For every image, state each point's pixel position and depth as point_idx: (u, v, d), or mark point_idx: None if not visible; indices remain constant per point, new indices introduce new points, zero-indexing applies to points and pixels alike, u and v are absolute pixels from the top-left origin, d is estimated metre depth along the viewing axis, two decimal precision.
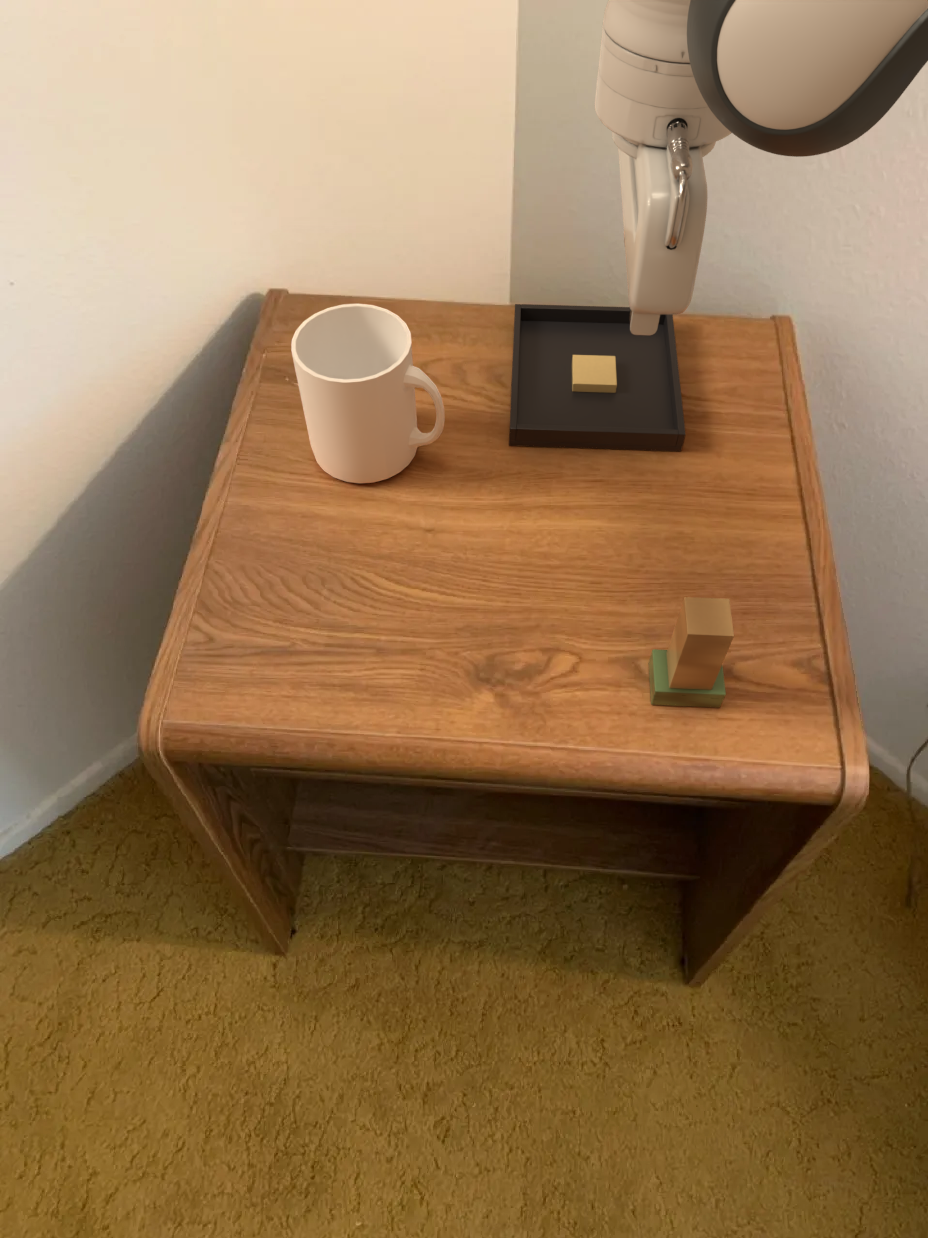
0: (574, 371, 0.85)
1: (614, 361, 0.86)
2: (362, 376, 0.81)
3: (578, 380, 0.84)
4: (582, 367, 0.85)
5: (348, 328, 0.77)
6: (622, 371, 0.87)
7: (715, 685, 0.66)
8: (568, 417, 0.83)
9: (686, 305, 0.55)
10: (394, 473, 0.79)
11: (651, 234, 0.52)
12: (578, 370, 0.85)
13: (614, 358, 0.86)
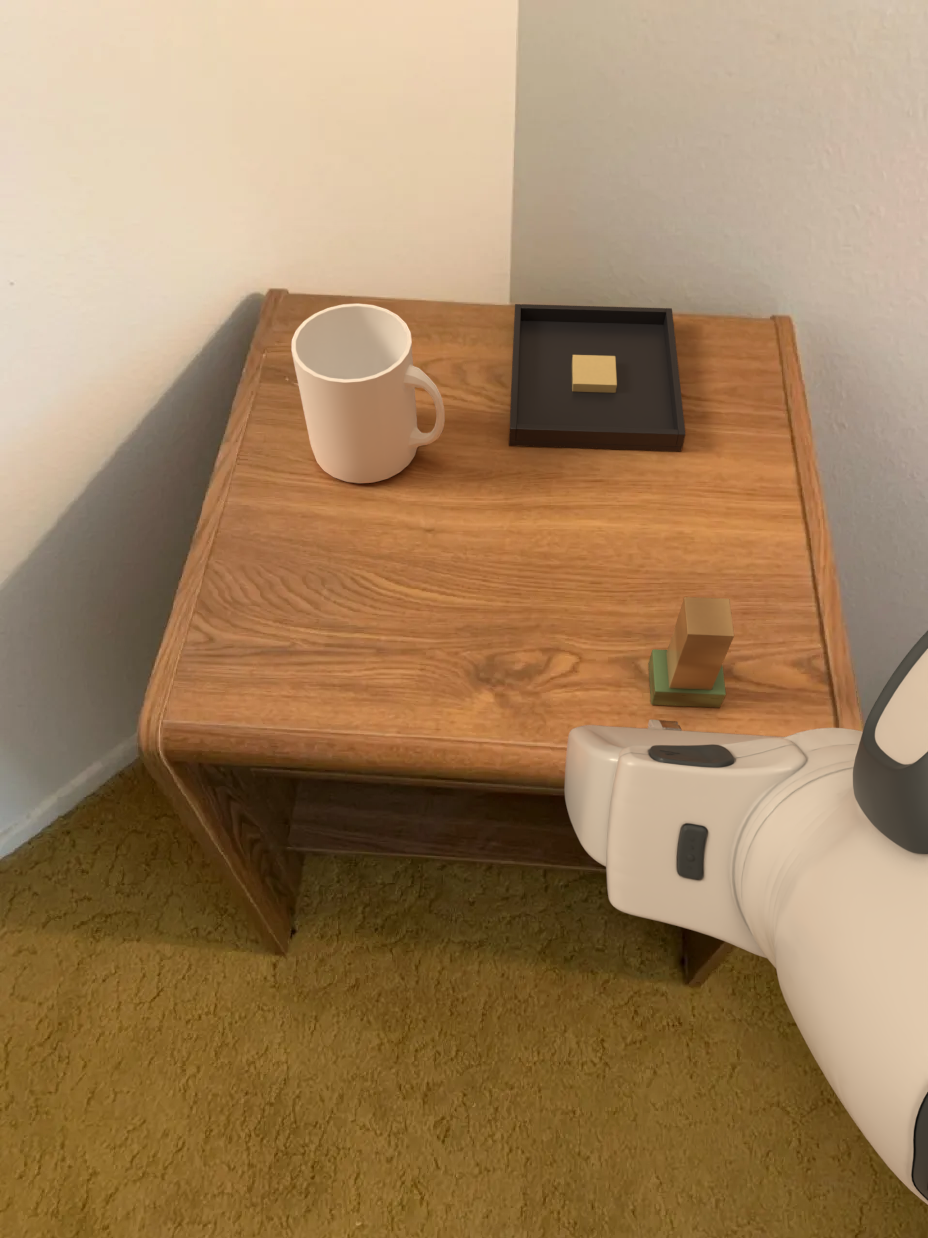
0: (574, 371, 0.85)
1: (614, 361, 0.86)
2: (362, 376, 0.81)
3: (578, 380, 0.84)
4: (582, 367, 0.85)
5: (348, 328, 0.77)
6: (622, 371, 0.87)
7: (715, 685, 0.66)
8: (568, 417, 0.83)
9: None
10: (394, 473, 0.79)
11: None
12: (578, 370, 0.85)
13: (614, 358, 0.86)
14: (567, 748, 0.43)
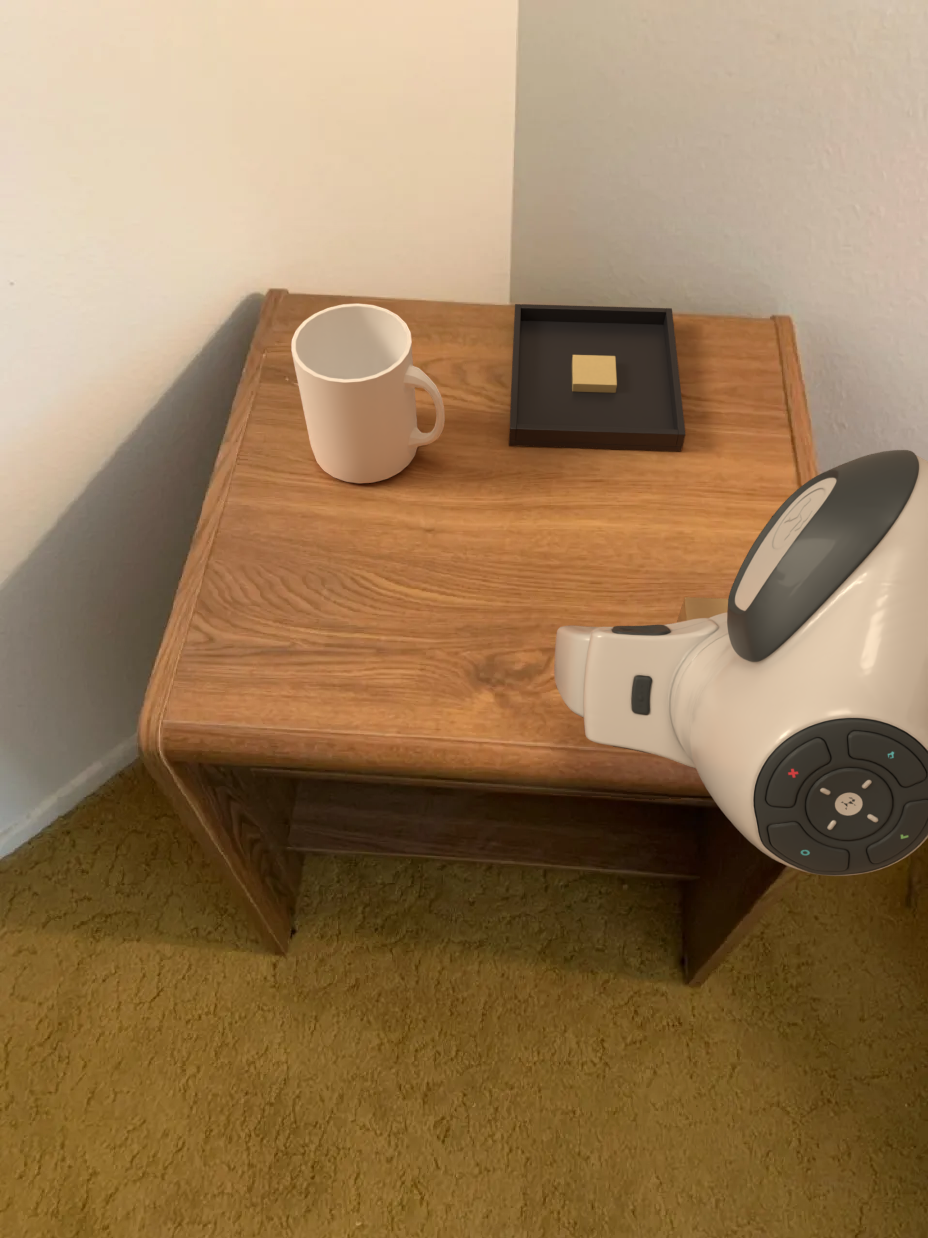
0: (574, 371, 0.85)
1: (614, 361, 0.86)
2: (362, 376, 0.81)
3: (578, 380, 0.84)
4: (582, 367, 0.85)
5: (348, 328, 0.77)
6: (622, 371, 0.87)
7: None
8: (568, 417, 0.83)
9: None
10: (394, 473, 0.79)
11: None
12: (578, 370, 0.85)
13: (614, 358, 0.86)
14: (556, 642, 0.59)
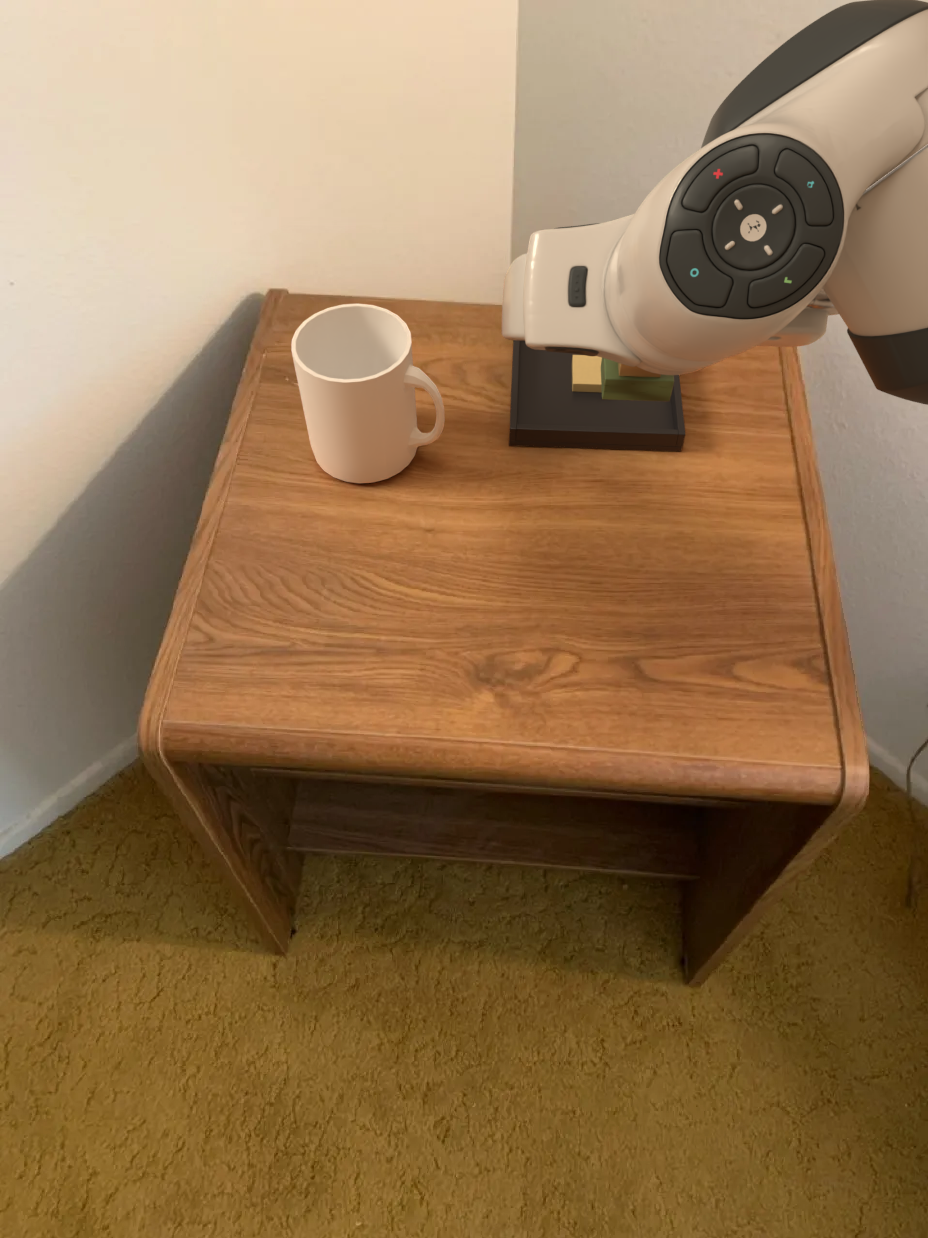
0: (574, 371, 0.85)
1: None
2: (362, 376, 0.81)
3: (578, 380, 0.84)
4: (582, 367, 0.85)
5: (348, 328, 0.77)
6: None
7: None
8: (568, 417, 0.83)
9: None
10: (394, 473, 0.79)
11: None
12: (578, 370, 0.85)
13: None
14: None
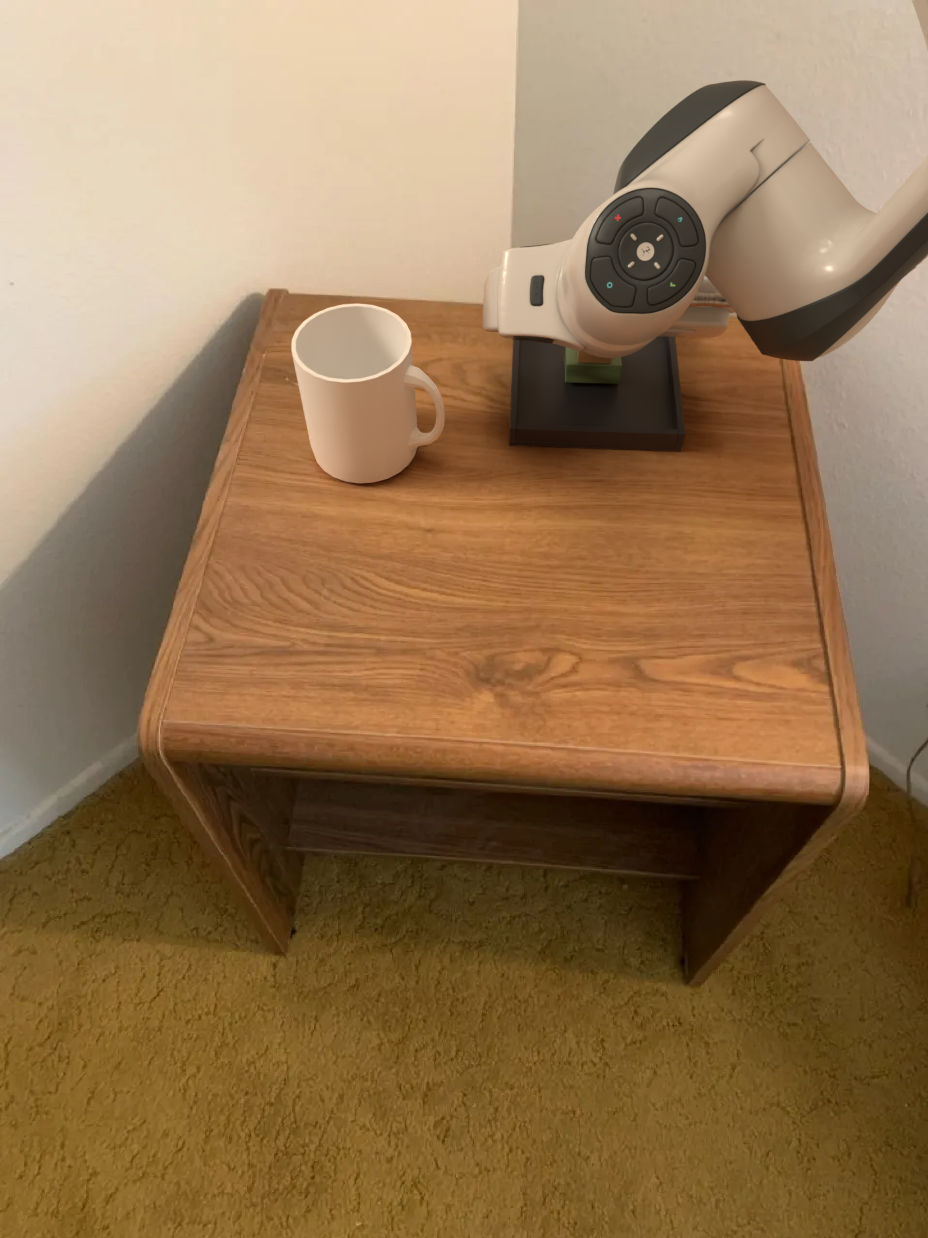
0: None
1: None
2: (362, 376, 0.81)
3: None
4: None
5: (348, 328, 0.77)
6: (622, 371, 0.87)
7: (614, 360, 0.84)
8: (568, 417, 0.83)
9: None
10: (394, 473, 0.79)
11: (728, 322, 0.73)
12: None
13: None
14: None
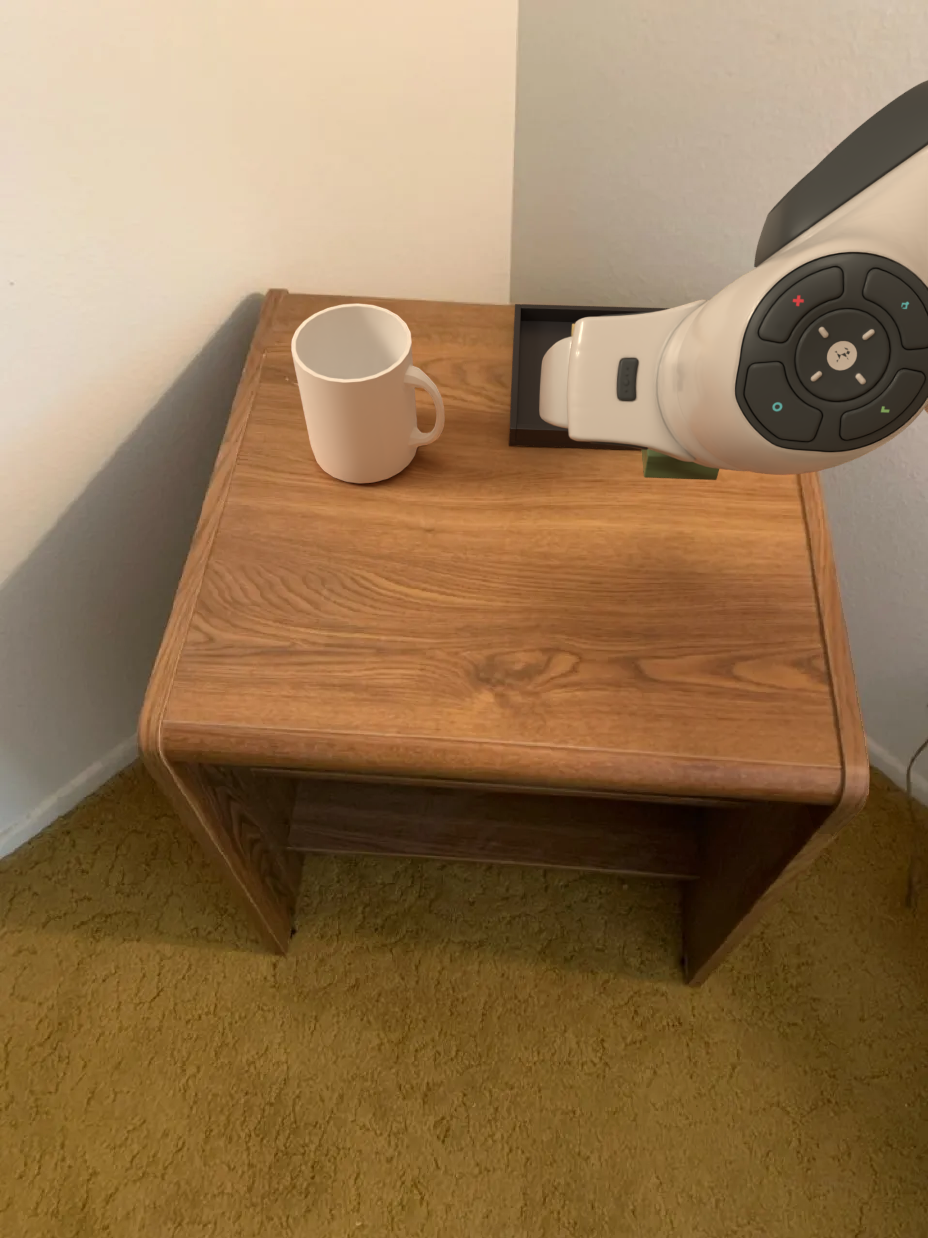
0: None
1: None
2: (362, 376, 0.81)
3: None
4: None
5: (348, 328, 0.77)
6: None
7: None
8: None
9: None
10: (394, 473, 0.79)
11: None
12: None
13: None
14: None
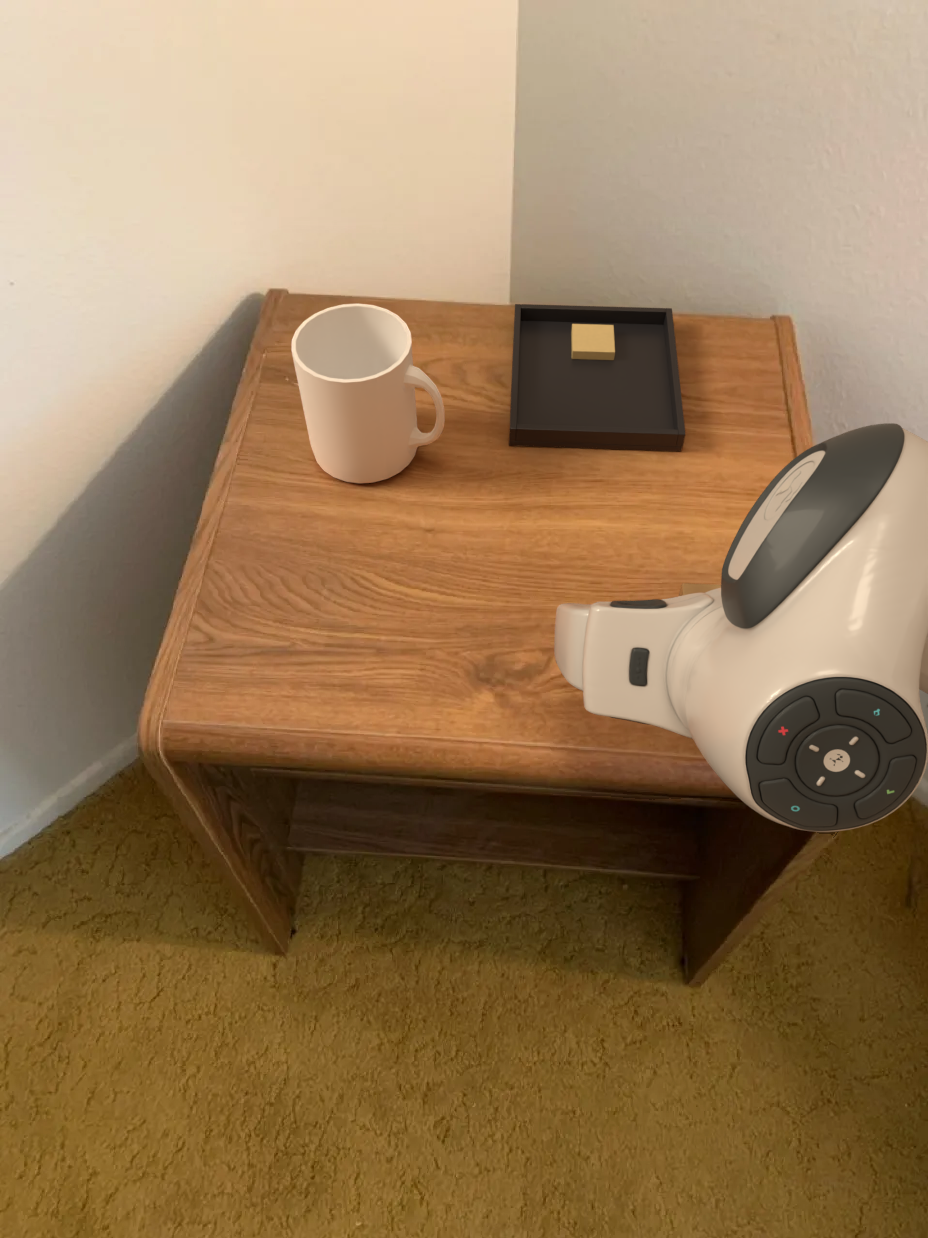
0: (573, 339, 0.88)
1: (612, 330, 0.88)
2: (362, 376, 0.81)
3: (578, 347, 0.87)
4: (581, 335, 0.88)
5: (348, 328, 0.77)
6: (622, 371, 0.87)
7: None
8: (568, 417, 0.83)
9: None
10: (394, 473, 0.79)
11: None
12: (577, 338, 0.88)
13: (612, 327, 0.89)
14: None
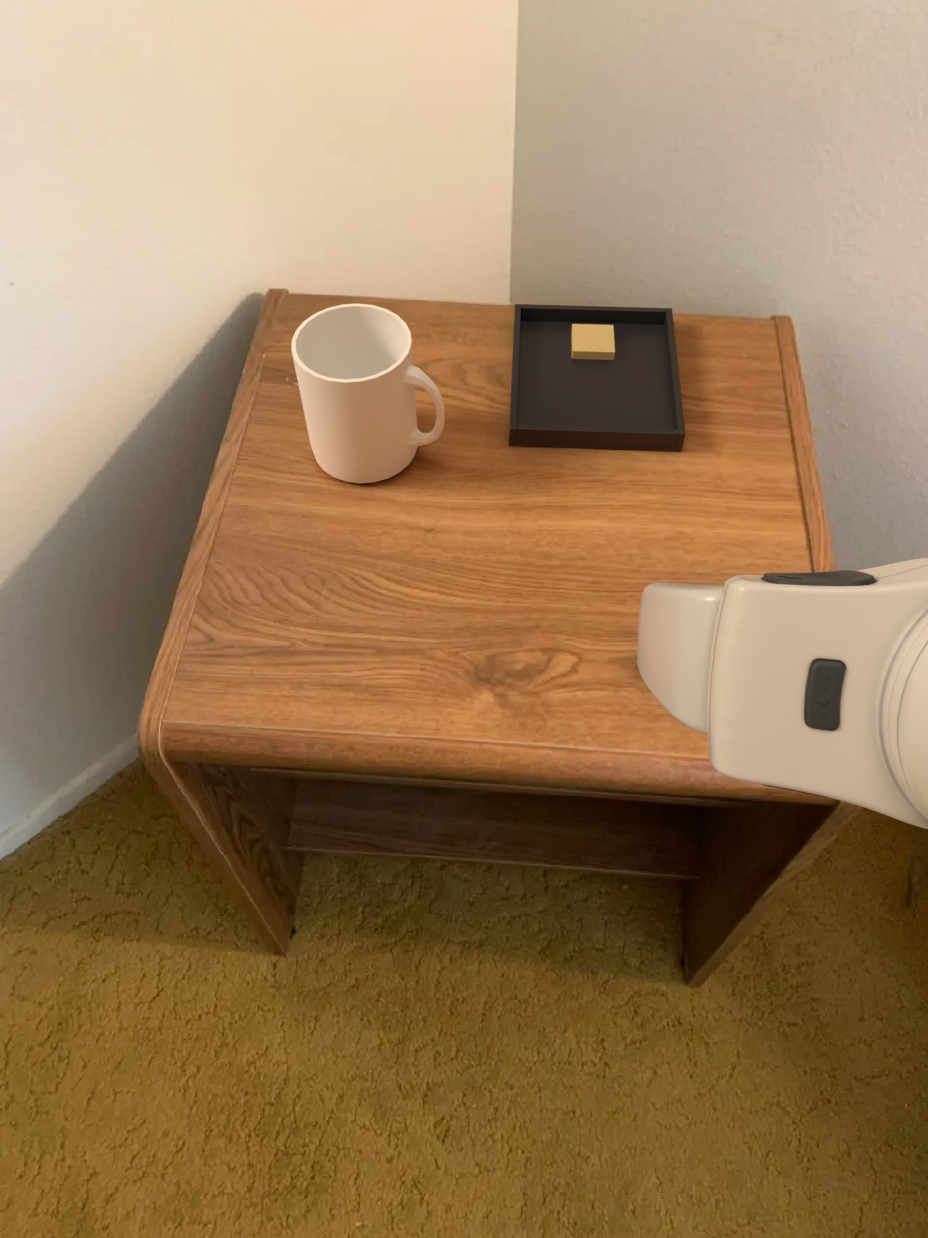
0: (573, 339, 0.88)
1: (612, 330, 0.88)
2: (362, 376, 0.81)
3: (578, 347, 0.87)
4: (581, 335, 0.88)
5: (348, 328, 0.77)
6: (622, 371, 0.87)
7: None
8: (568, 417, 0.83)
9: None
10: (394, 473, 0.79)
11: None
12: (577, 338, 0.88)
13: (612, 327, 0.89)
14: (641, 609, 0.36)
